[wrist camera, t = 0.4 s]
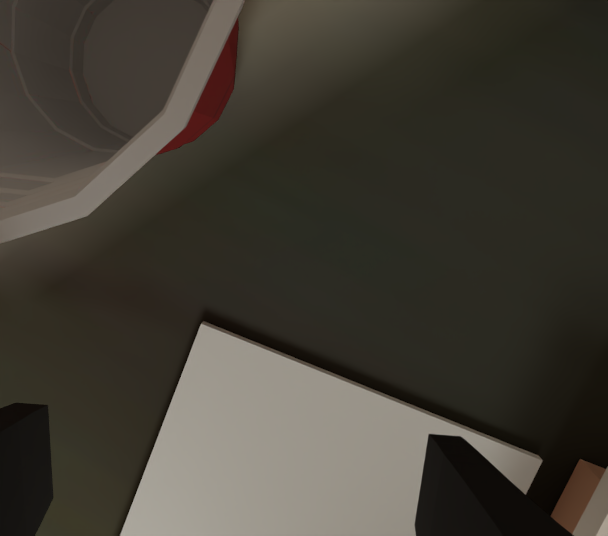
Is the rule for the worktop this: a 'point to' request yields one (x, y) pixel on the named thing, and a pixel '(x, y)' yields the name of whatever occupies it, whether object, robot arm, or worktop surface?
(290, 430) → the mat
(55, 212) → the plastic cup
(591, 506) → the lid
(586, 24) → the worktop surface
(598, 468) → the block
